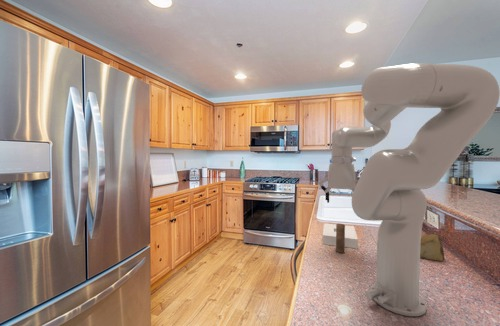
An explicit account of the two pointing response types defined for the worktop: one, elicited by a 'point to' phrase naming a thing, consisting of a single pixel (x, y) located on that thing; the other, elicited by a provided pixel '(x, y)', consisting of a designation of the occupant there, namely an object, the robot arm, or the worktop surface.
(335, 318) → the worktop surface
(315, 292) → the worktop surface
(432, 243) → the rock
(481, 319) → the worktop surface
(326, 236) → the hole block
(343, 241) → the peg
